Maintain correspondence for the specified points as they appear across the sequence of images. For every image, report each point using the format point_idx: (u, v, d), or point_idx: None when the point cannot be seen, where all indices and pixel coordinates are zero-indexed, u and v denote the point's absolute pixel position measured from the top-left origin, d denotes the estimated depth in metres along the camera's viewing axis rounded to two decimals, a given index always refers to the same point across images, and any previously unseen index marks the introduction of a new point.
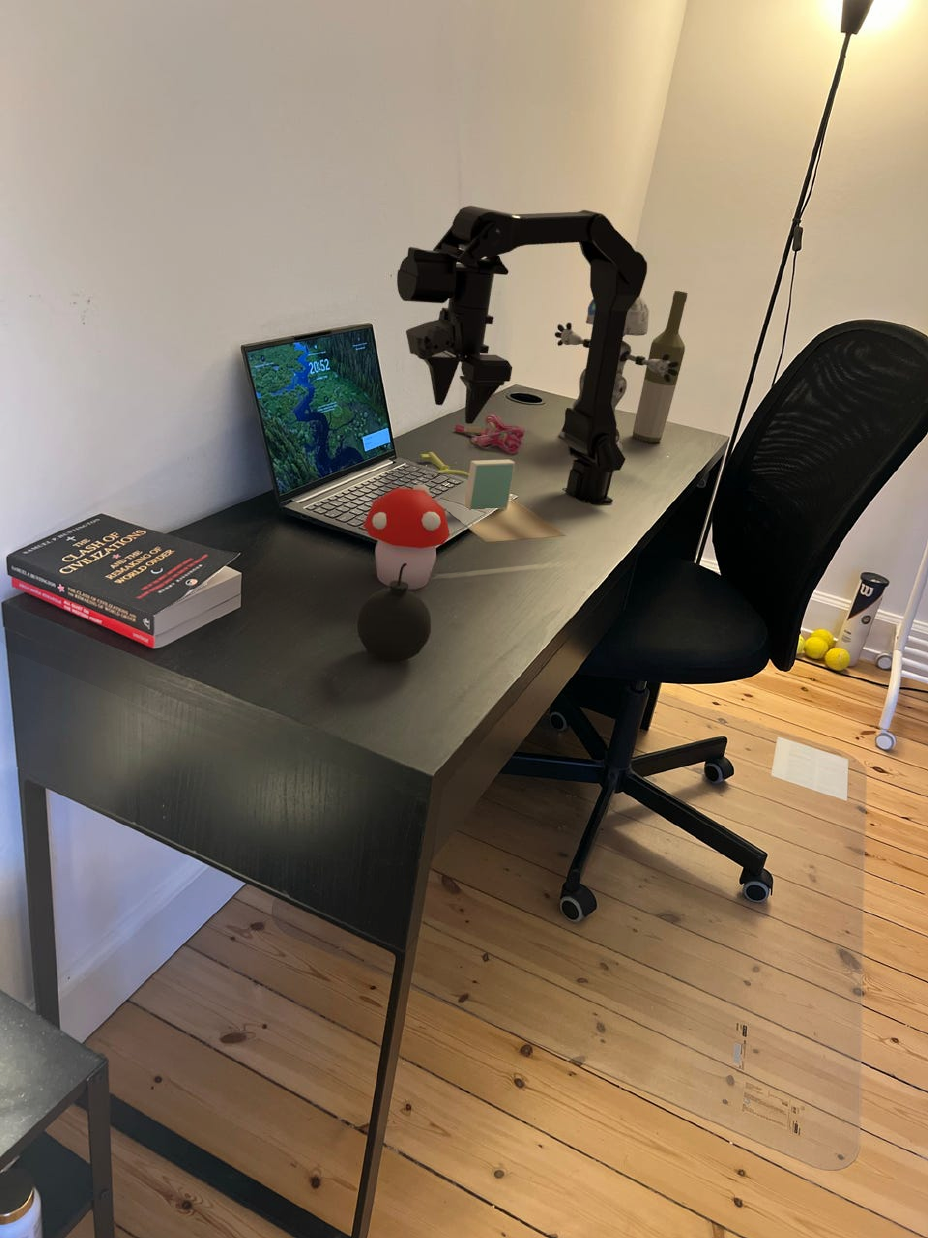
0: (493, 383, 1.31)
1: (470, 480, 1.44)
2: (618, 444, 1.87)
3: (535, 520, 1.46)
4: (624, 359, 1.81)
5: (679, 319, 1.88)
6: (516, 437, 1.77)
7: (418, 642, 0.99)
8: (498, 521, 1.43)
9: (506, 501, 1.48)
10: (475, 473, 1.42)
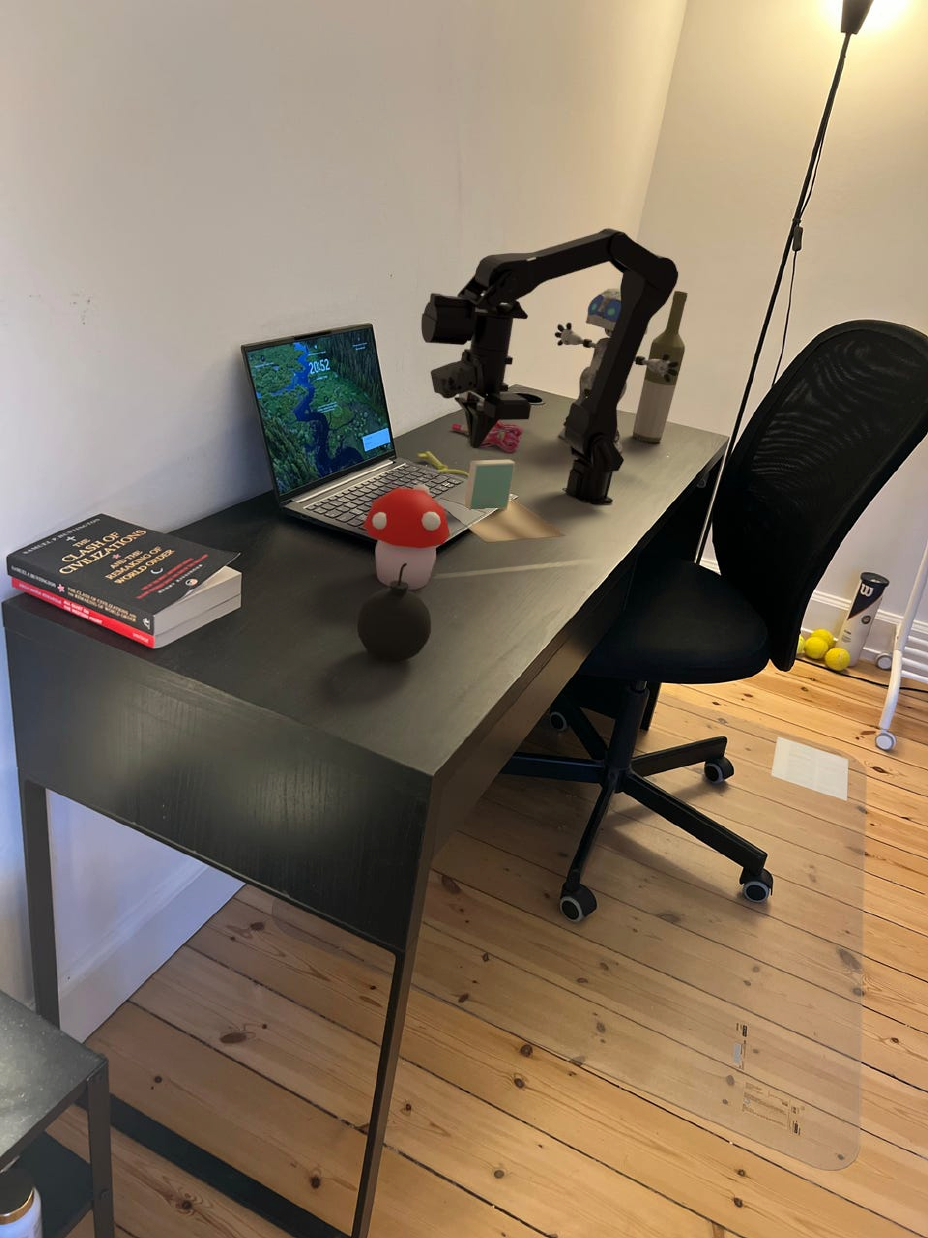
0: None
1: (470, 480, 1.44)
2: (618, 444, 1.87)
3: (535, 520, 1.46)
4: None
5: (679, 319, 1.88)
6: (514, 435, 1.78)
7: (418, 643, 0.99)
8: (498, 521, 1.43)
9: (506, 501, 1.48)
10: (475, 473, 1.42)
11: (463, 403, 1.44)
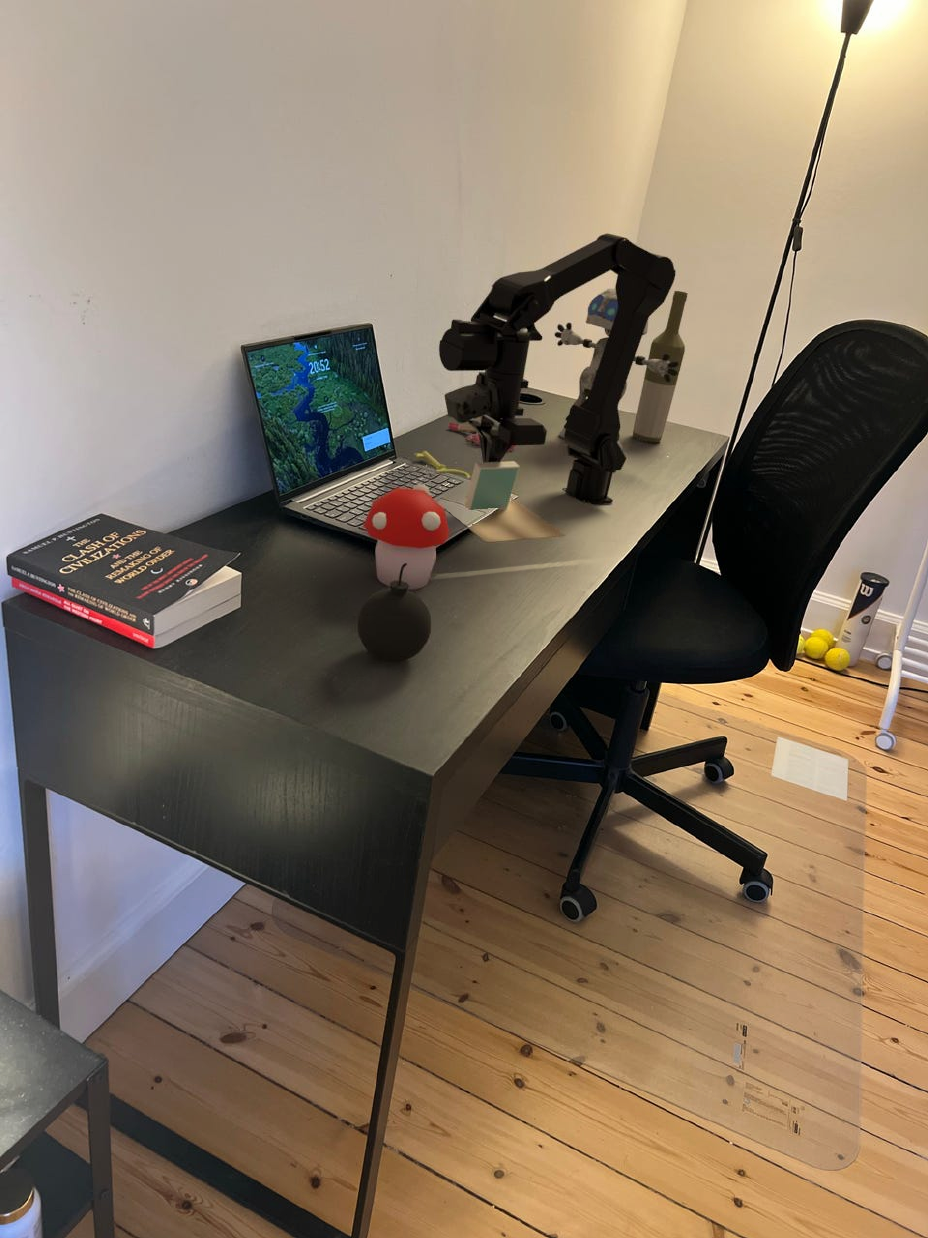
0: None
1: (473, 481, 1.43)
2: (618, 444, 1.87)
3: (535, 520, 1.46)
4: None
5: (679, 319, 1.88)
6: None
7: (418, 643, 0.99)
8: (498, 521, 1.43)
9: (507, 502, 1.47)
10: (478, 476, 1.41)
11: (477, 427, 1.42)
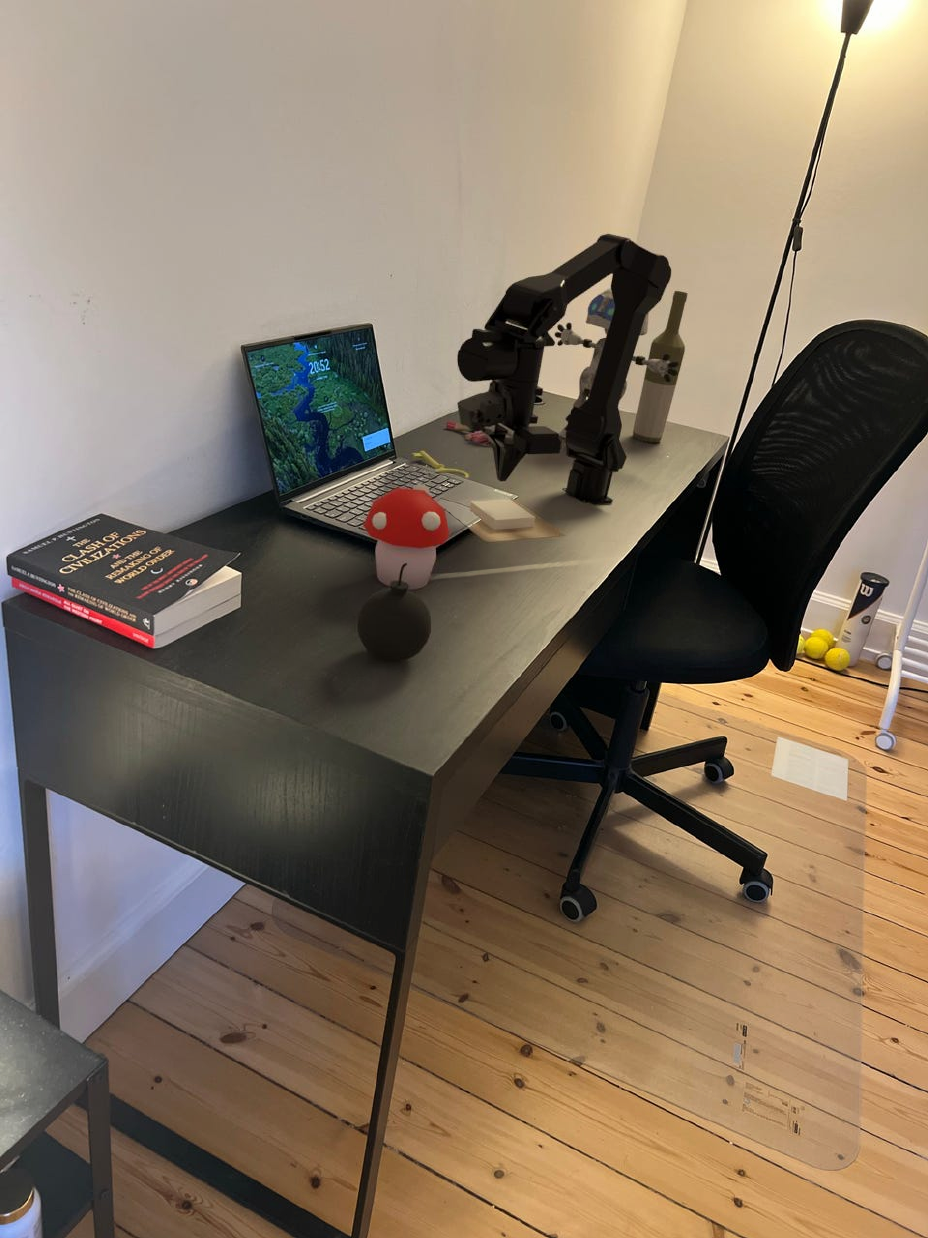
0: None
1: (485, 517, 1.41)
2: None
3: (535, 520, 1.46)
4: None
5: (679, 319, 1.88)
6: None
7: (418, 643, 0.99)
8: None
9: None
10: (489, 526, 1.40)
11: (490, 435, 1.39)
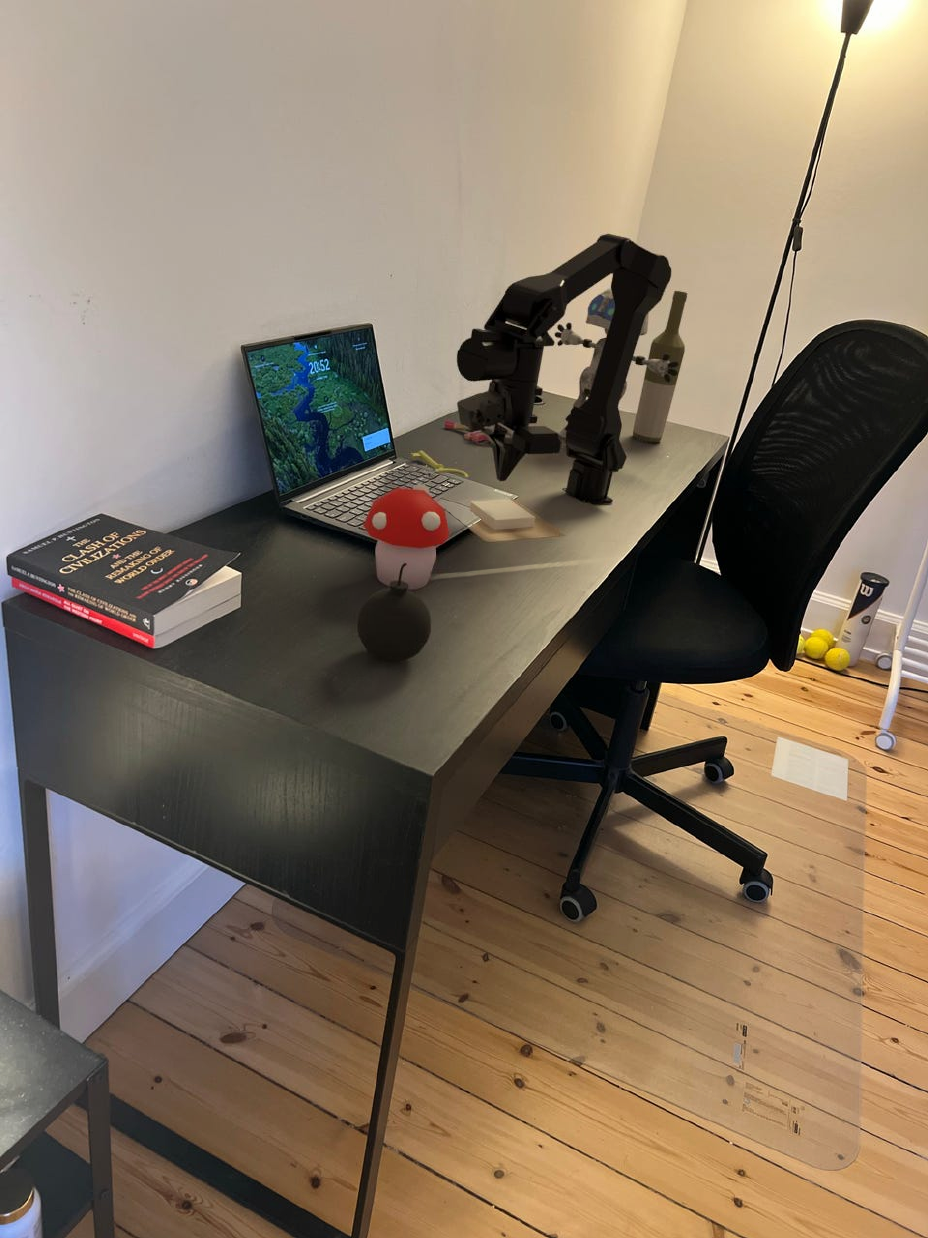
0: None
1: (485, 517, 1.41)
2: None
3: (535, 520, 1.46)
4: None
5: (679, 319, 1.88)
6: None
7: (418, 642, 0.99)
8: None
9: None
10: (489, 526, 1.40)
11: (490, 435, 1.39)
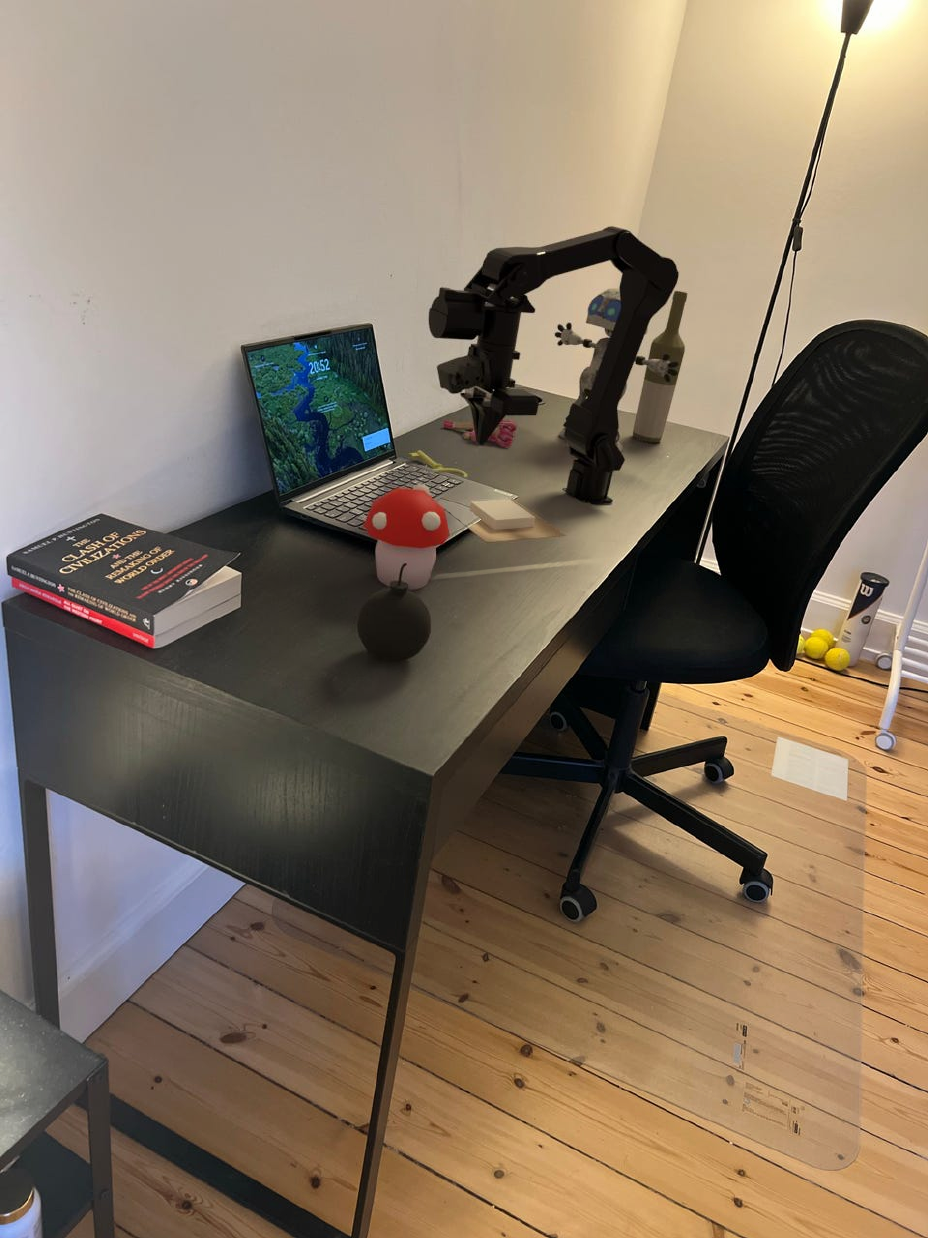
0: None
1: (485, 517, 1.41)
2: (618, 444, 1.87)
3: (535, 520, 1.46)
4: None
5: (679, 319, 1.88)
6: (509, 431, 1.80)
7: (418, 643, 0.99)
8: None
9: None
10: (489, 526, 1.40)
11: (469, 399, 1.42)
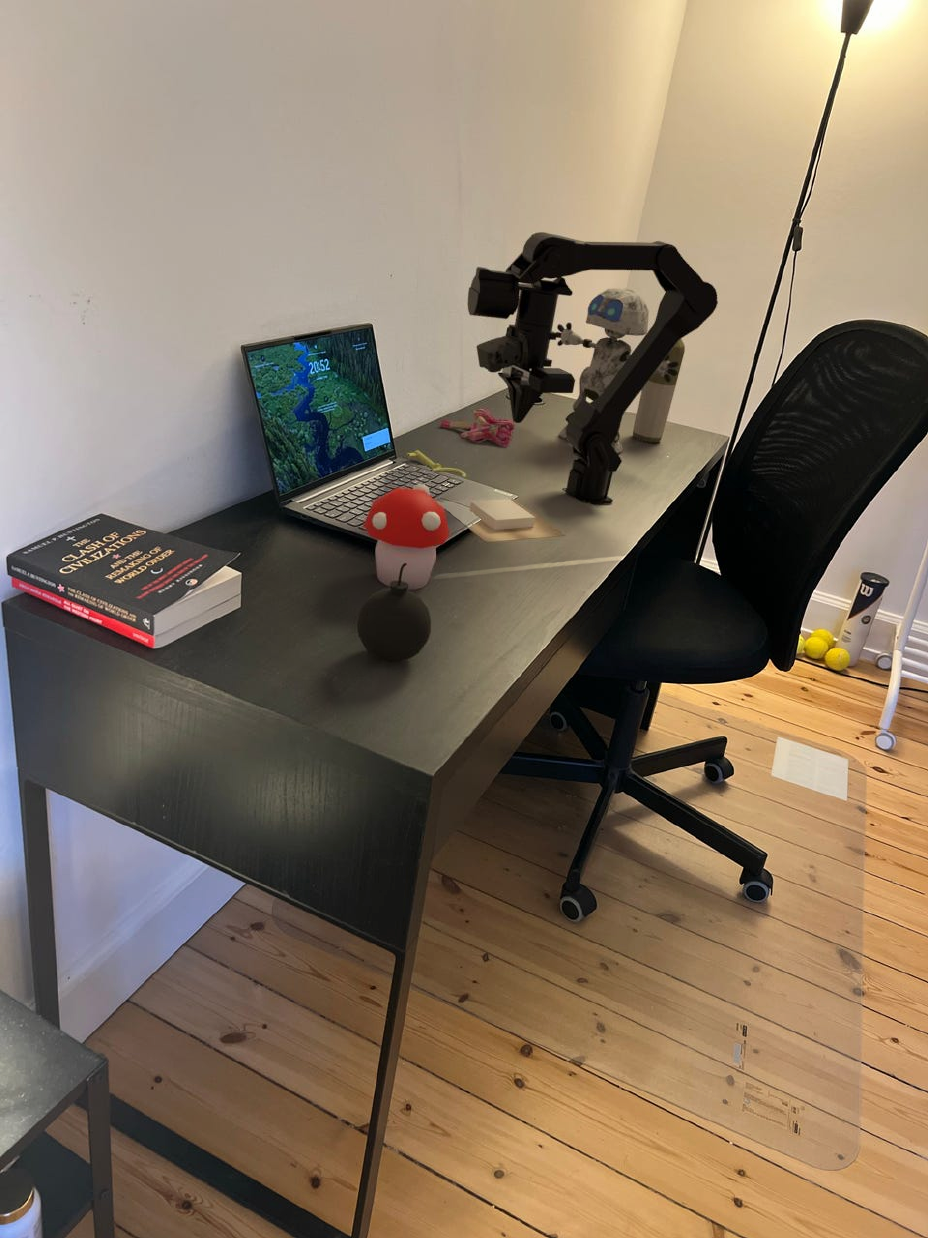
0: None
1: (485, 517, 1.41)
2: (618, 444, 1.87)
3: (535, 520, 1.46)
4: (624, 359, 1.81)
5: None
6: (507, 430, 1.81)
7: (418, 642, 0.99)
8: None
9: None
10: (489, 526, 1.40)
11: (507, 378, 1.47)
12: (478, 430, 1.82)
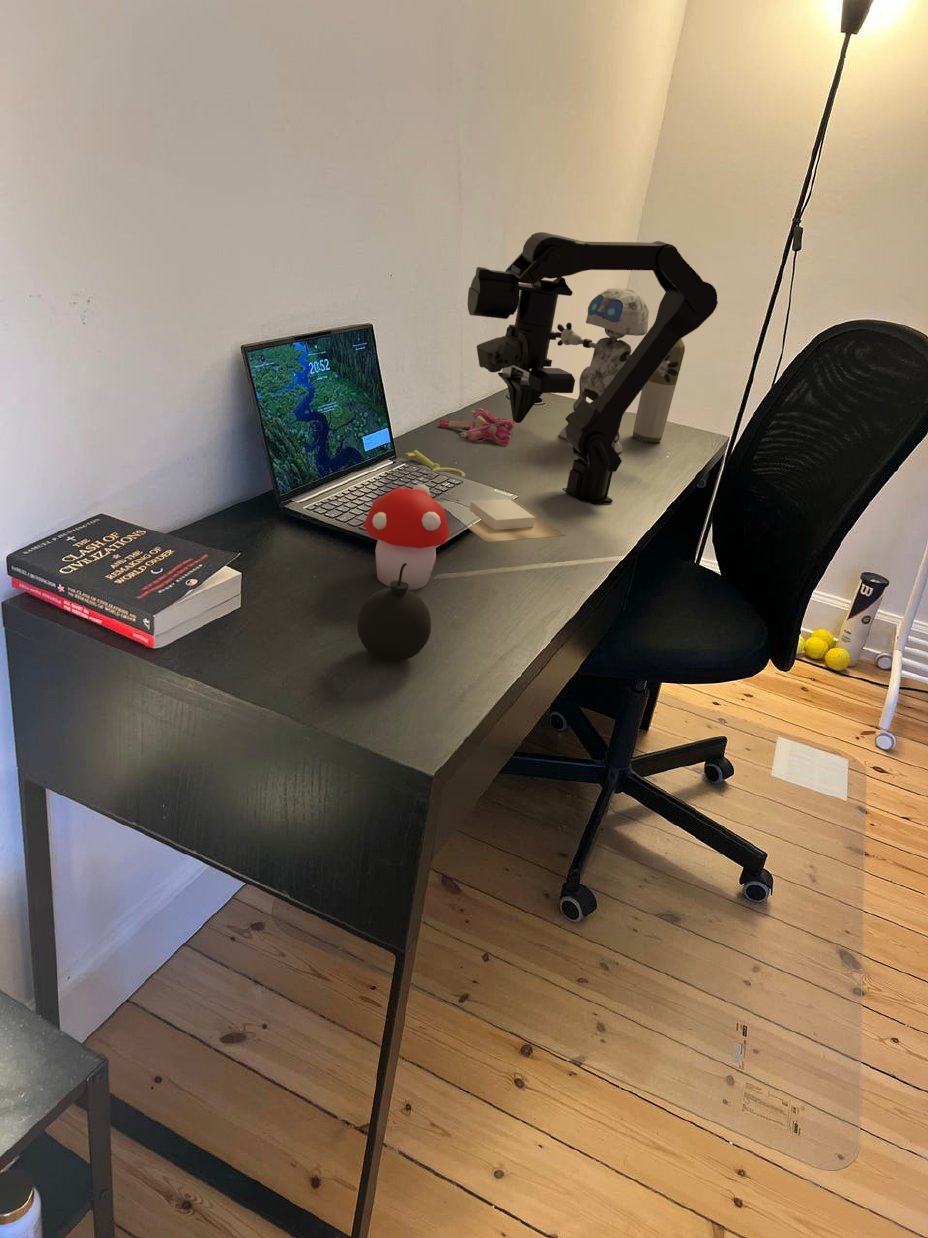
0: None
1: (485, 517, 1.41)
2: (618, 444, 1.87)
3: (535, 520, 1.46)
4: (624, 359, 1.81)
5: None
6: (506, 429, 1.81)
7: (418, 643, 0.99)
8: None
9: None
10: (489, 526, 1.40)
11: (507, 378, 1.47)
12: (477, 429, 1.82)
